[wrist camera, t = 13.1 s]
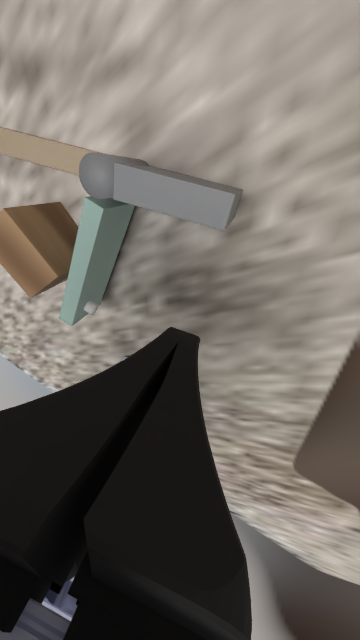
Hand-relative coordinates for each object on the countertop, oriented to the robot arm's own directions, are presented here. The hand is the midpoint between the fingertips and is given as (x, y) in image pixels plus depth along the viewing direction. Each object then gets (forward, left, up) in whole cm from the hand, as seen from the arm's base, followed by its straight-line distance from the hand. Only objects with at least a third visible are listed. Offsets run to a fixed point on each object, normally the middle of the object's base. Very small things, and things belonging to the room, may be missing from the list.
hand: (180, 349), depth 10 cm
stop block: (-1, +13, -10) cm, 16 cm away
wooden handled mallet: (+5, +10, -9) cm, 15 cm away
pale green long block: (-1, +9, -9) cm, 13 cm away
